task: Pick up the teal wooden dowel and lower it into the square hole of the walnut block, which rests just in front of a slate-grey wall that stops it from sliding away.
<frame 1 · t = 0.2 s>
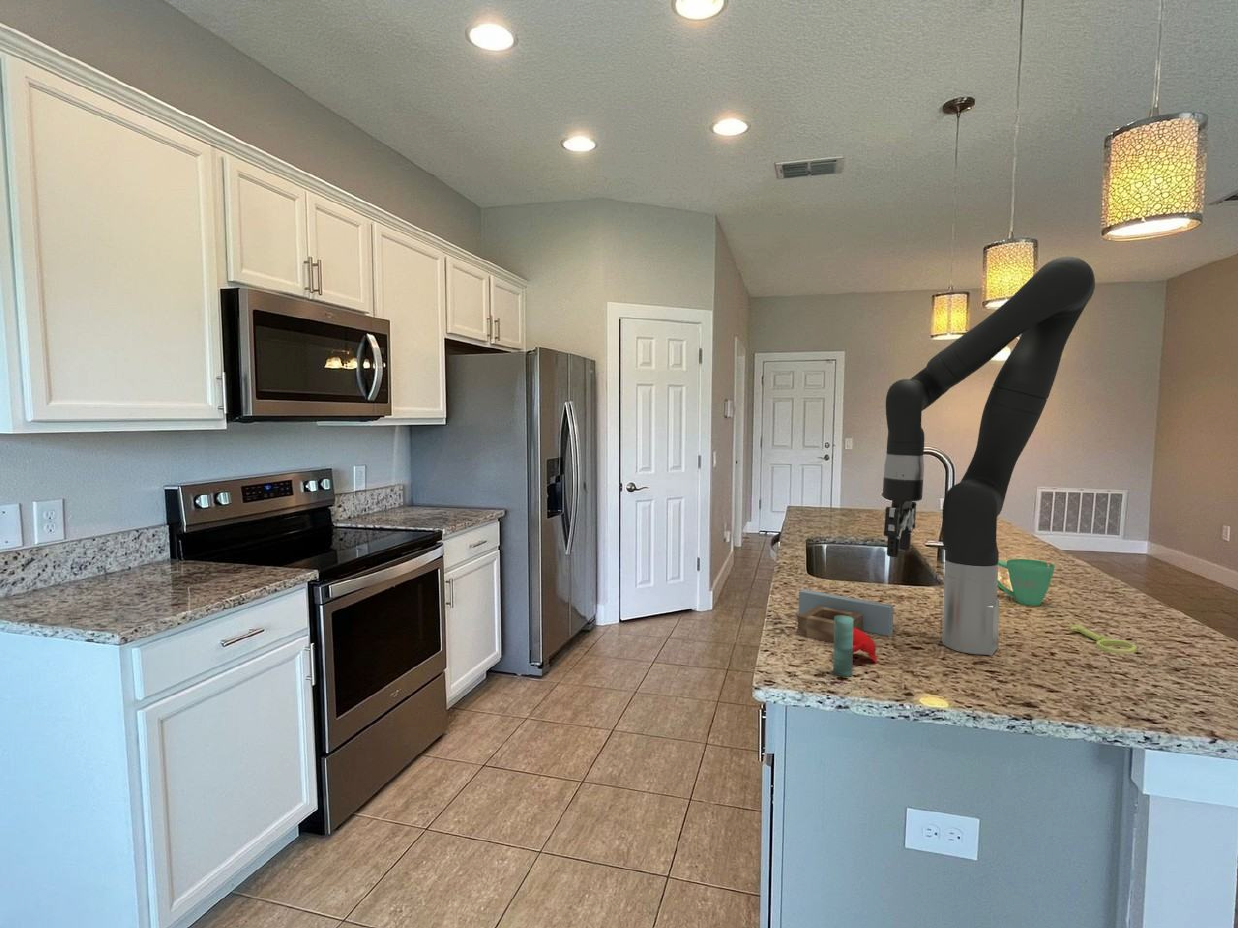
hand: (898, 553, 130), 17 cm above the counter, tool pointing down, fingers open, 8 cm apart
key: (1101, 645, 125), on the counter
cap: (855, 660, 117), on the counter
holed block: (830, 633, 131), on the counter
dowel: (842, 673, 111), on the counter
mug: (1017, 601, 155), on the counter
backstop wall: (843, 624, 137), on the counter
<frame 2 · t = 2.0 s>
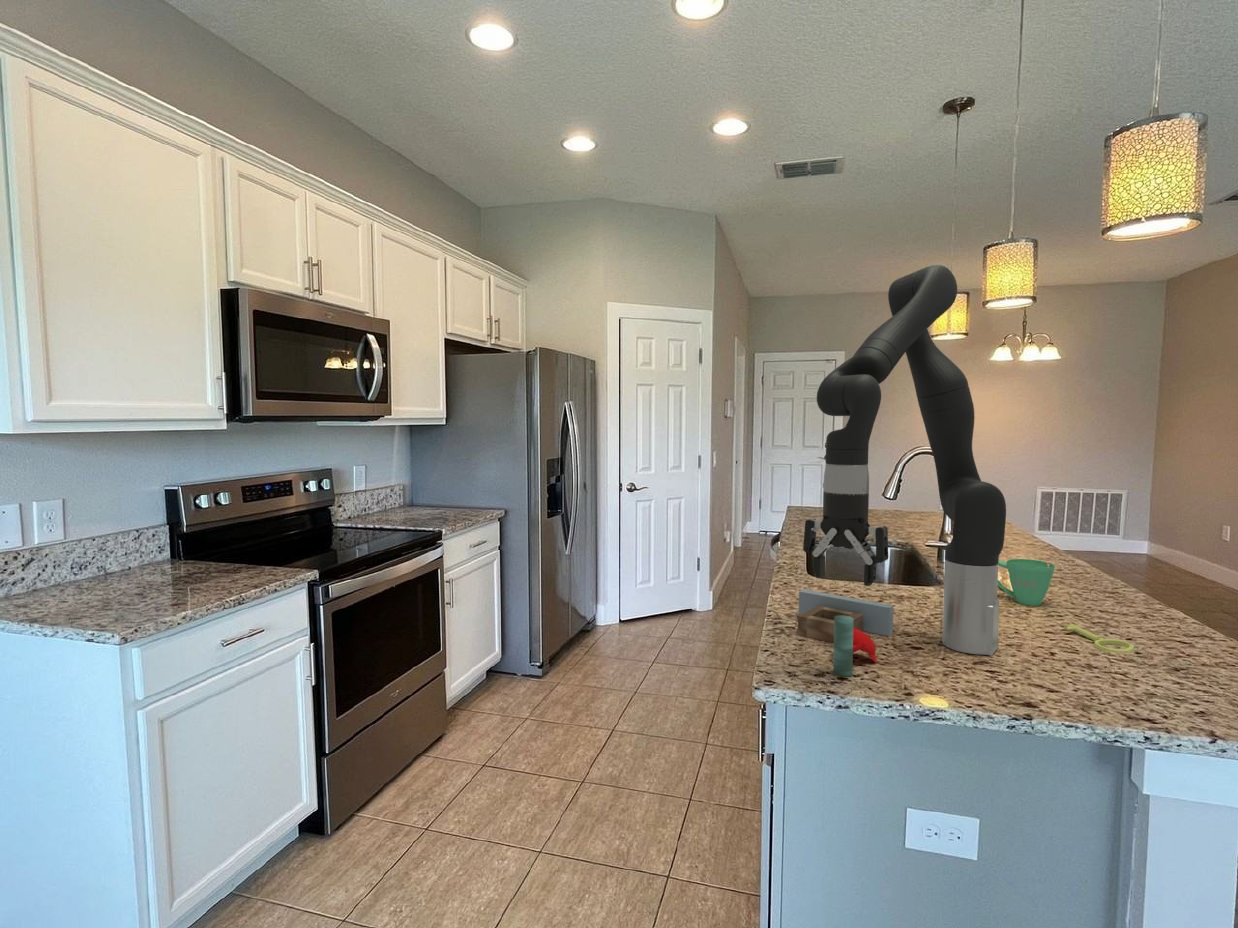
hand: (843, 581, 110), 17 cm above the counter, tool pointing down, fingers open, 8 cm apart
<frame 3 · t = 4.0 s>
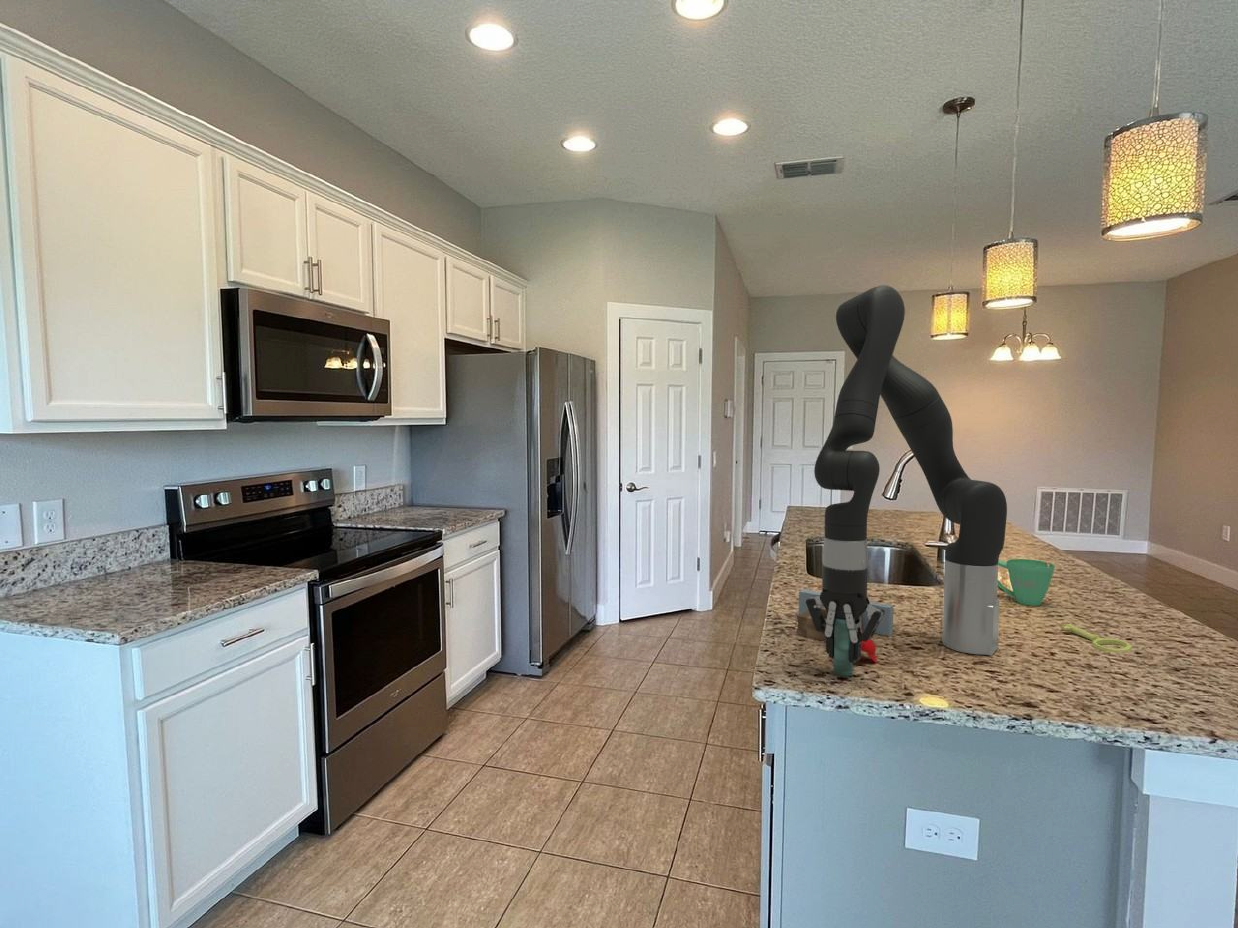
hand: (843, 658, 110), 3 cm above the counter, tool pointing down, fingers closed on dowel, 3 cm apart
dowel: (842, 672, 110), on the counter, touching gripper
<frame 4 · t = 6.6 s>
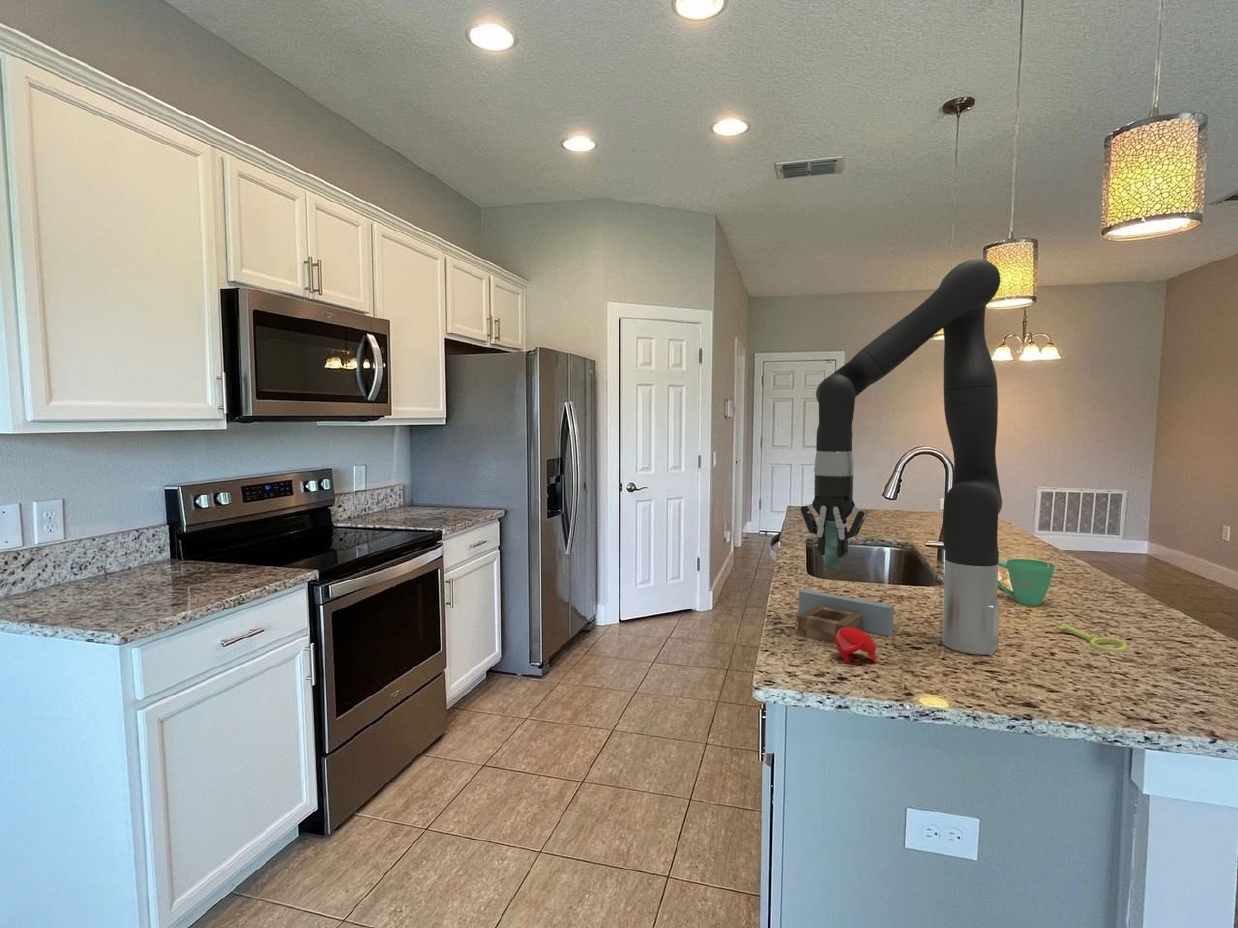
hand: (832, 555, 129), 17 cm above the counter, tool pointing down, fingers closed on dowel, 3 cm apart
dowel: (832, 567, 129), point 14 cm above the counter, touching gripper
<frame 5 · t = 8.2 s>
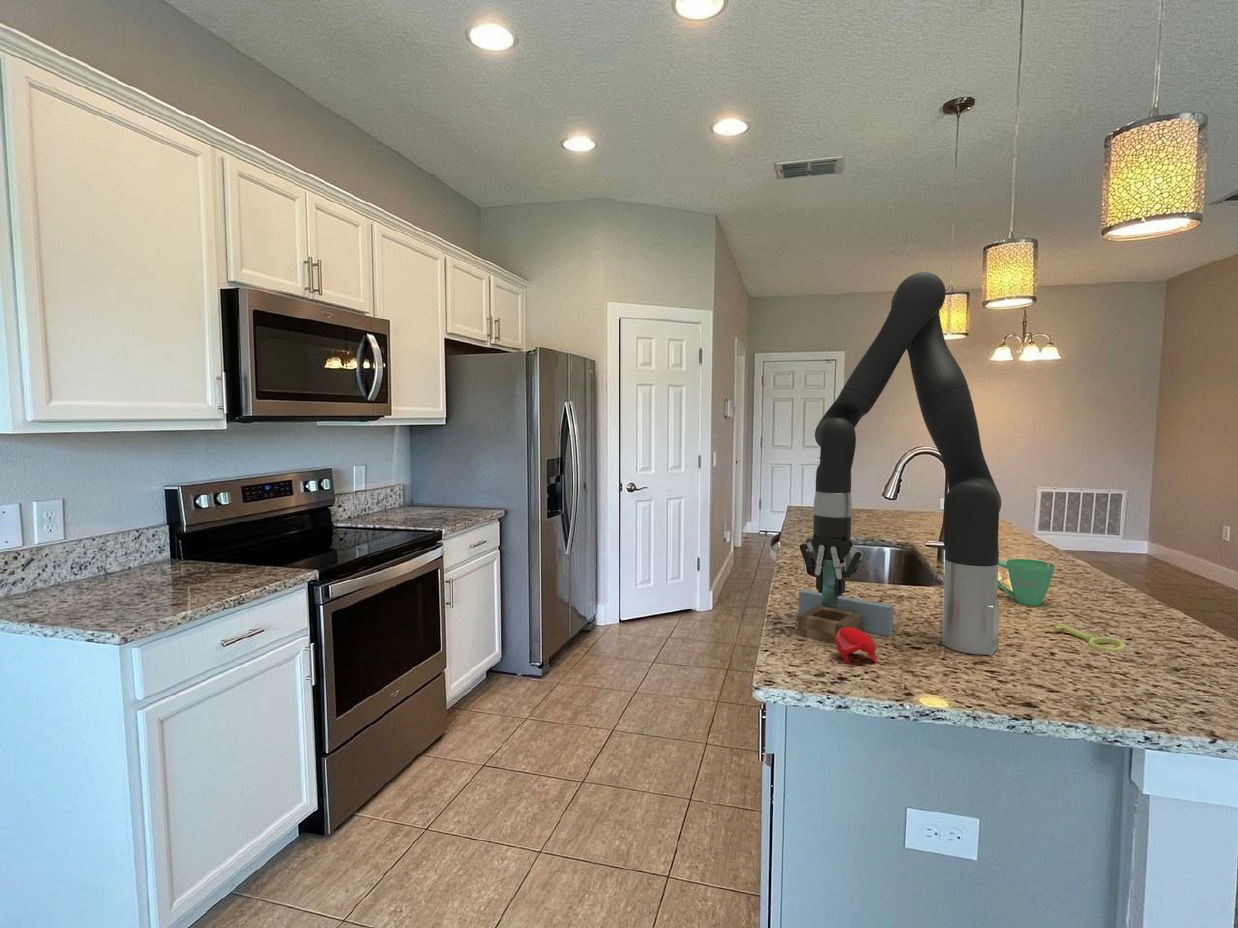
hand: (830, 593, 131), 9 cm above the counter, tool pointing down, fingers closed on dowel, 3 cm apart
dowel: (829, 605, 131), point 6 cm above the counter, touching gripper
when the fingers open (5 cm above the counter, at t = 9.4 s): dowel drops 3 cm, resting in holed block.
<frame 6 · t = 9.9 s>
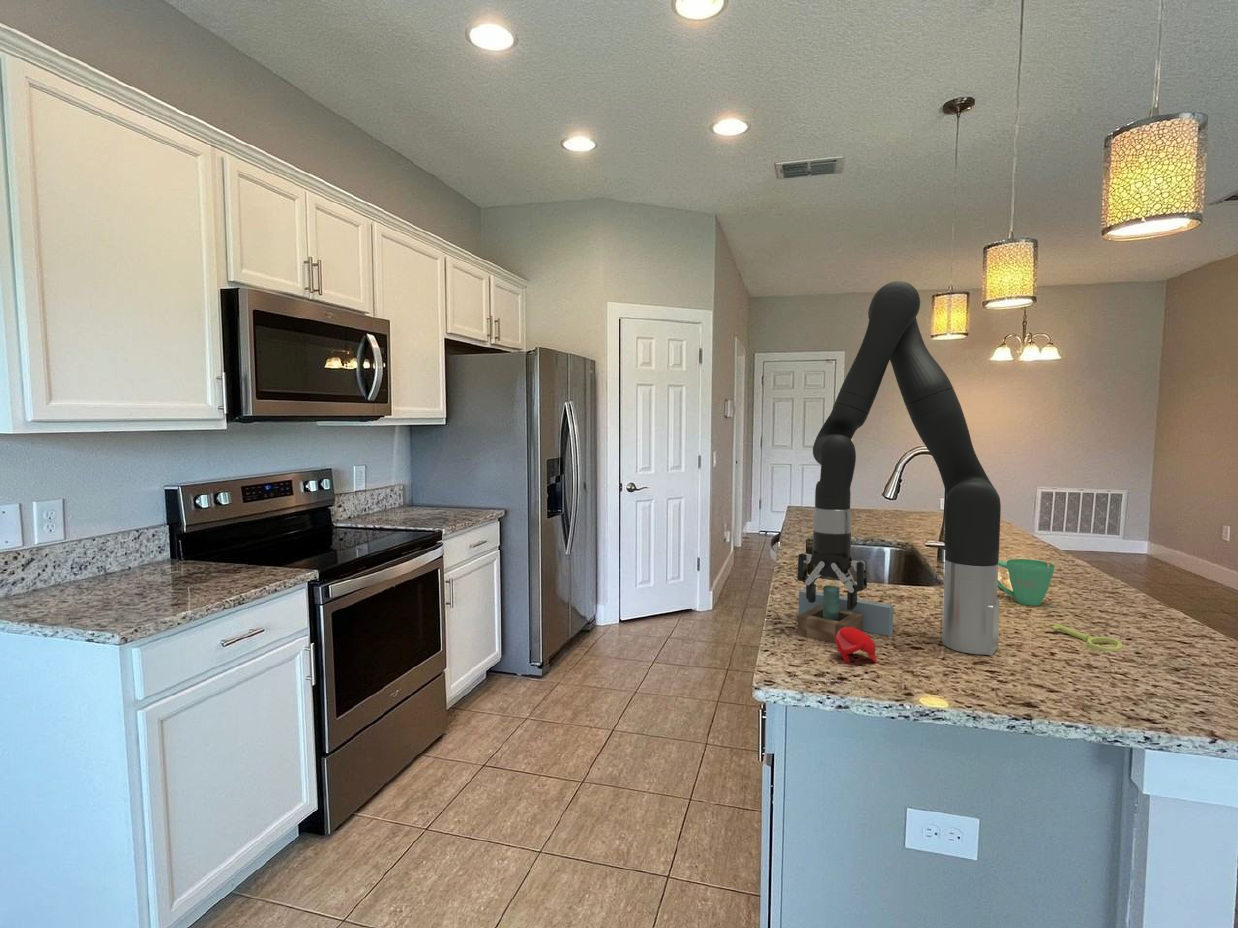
hand: (830, 605, 131), 6 cm above the counter, tool pointing down, fingers open, 8 cm apart
dowel: (830, 633, 131), resting in holed block
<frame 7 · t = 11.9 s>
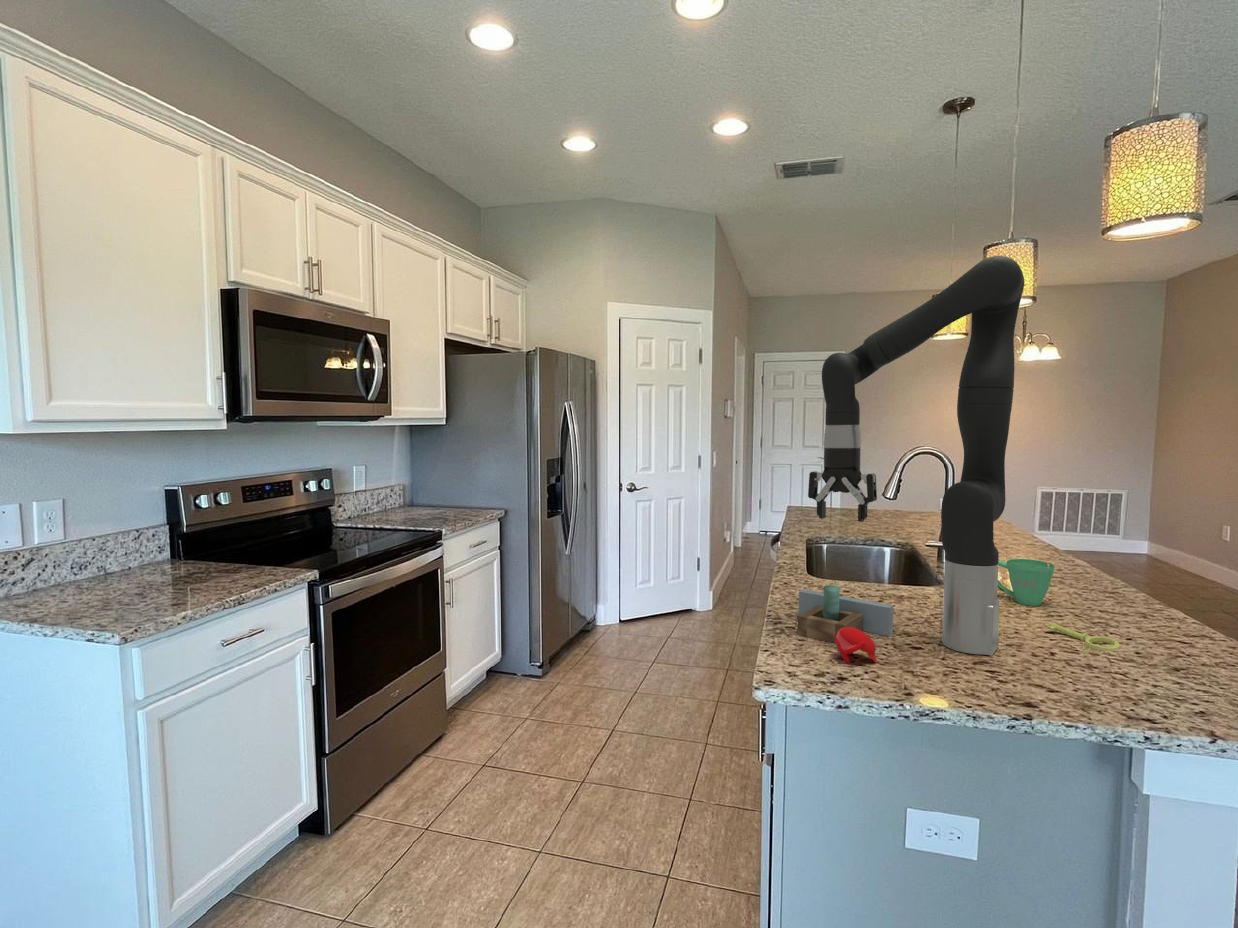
hand: (841, 519, 136), 23 cm above the counter, tool pointing down, fingers open, 8 cm apart
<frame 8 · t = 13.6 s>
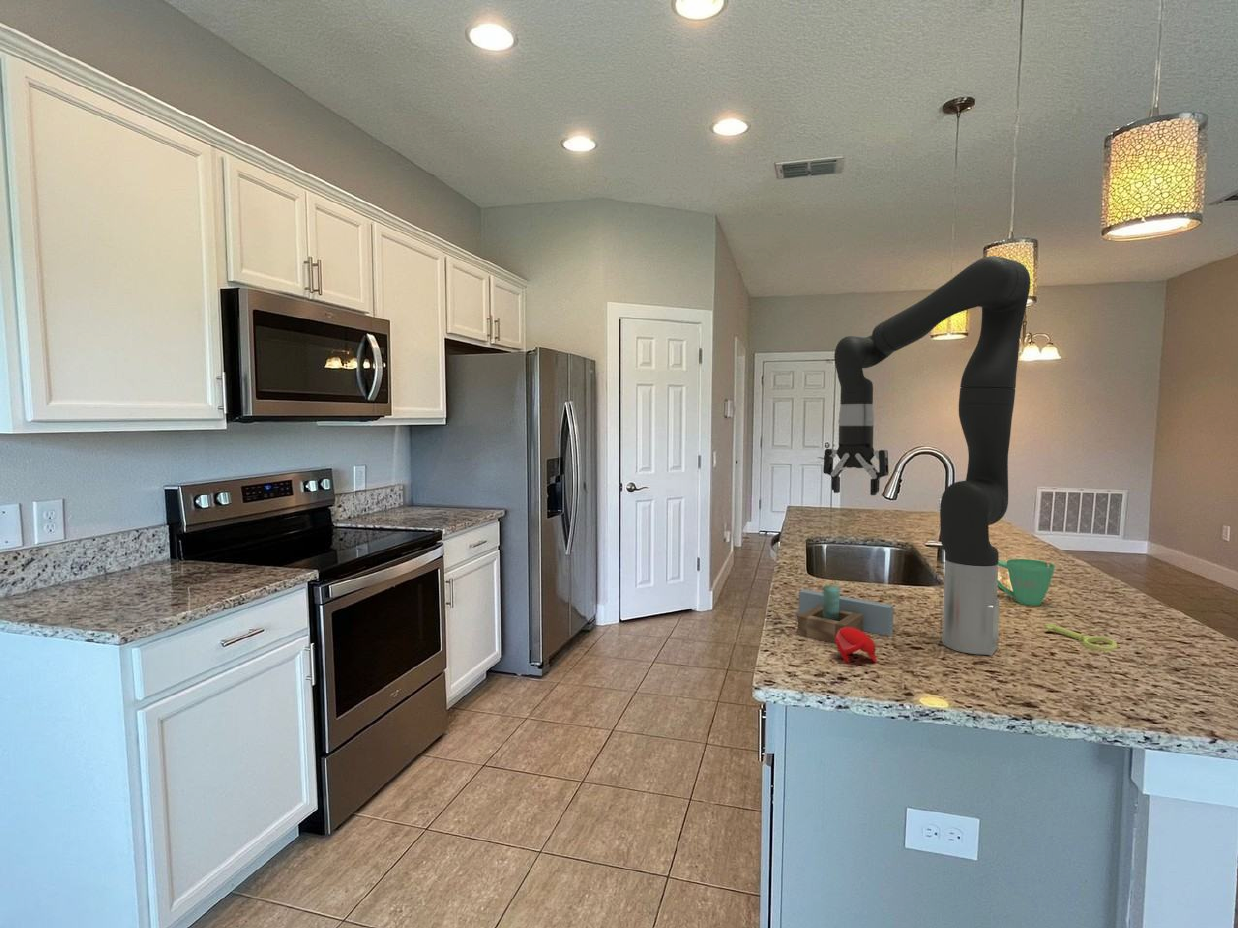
hand: (854, 493, 144), 28 cm above the counter, tool pointing down, fingers open, 8 cm apart
at the end: dowel 0.1 cm from the holed block (horizontally); dowel resting in holed block; holed block 0.0 cm from the target spot, on the counter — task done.
